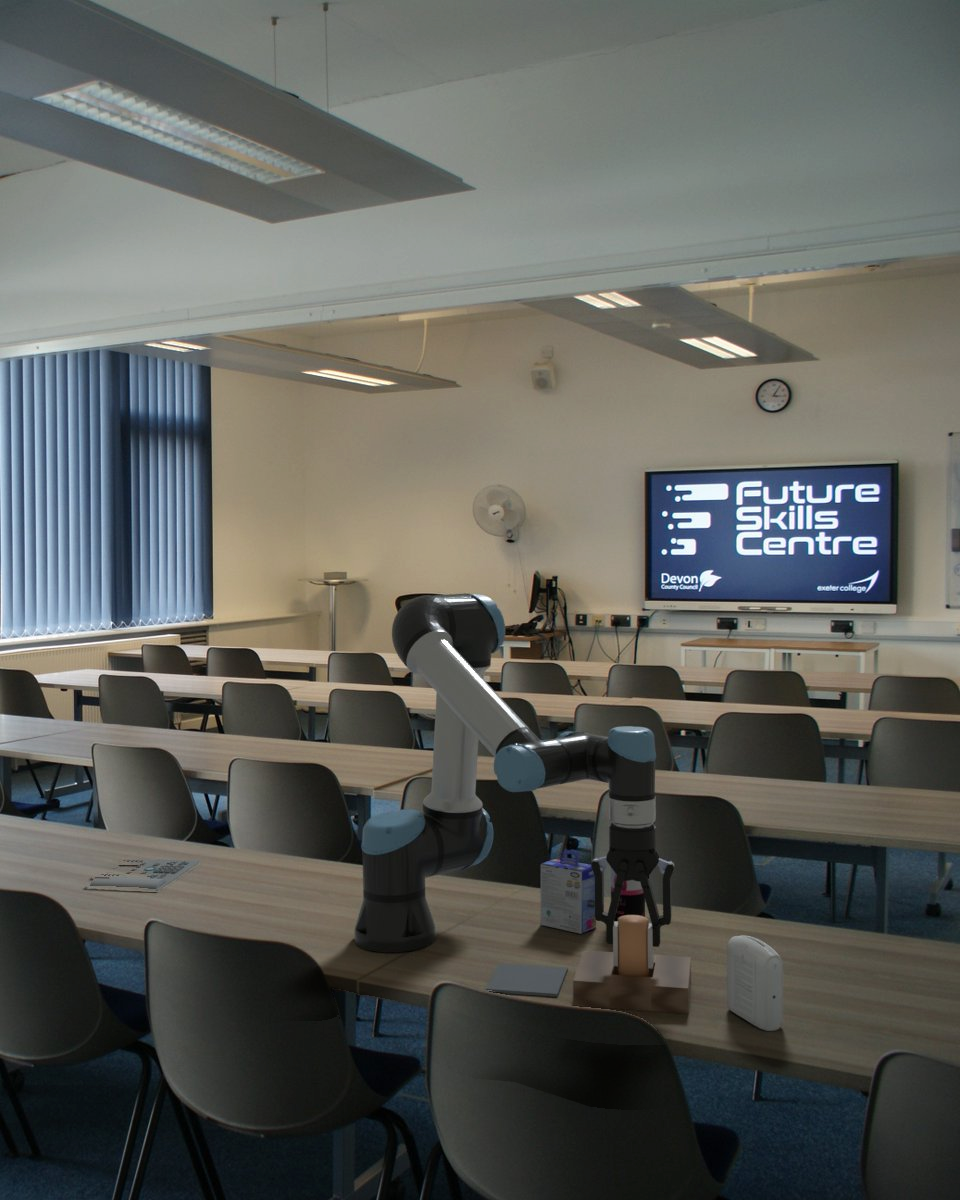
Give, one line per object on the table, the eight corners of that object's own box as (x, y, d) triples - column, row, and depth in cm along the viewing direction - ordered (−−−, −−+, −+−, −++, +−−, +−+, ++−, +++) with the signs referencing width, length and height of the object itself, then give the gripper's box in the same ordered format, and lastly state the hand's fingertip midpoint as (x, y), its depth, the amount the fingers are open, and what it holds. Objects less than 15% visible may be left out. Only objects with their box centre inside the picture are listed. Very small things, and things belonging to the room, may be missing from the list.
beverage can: (622, 928, 216) (621, 851, 216) (605, 919, 222) (604, 843, 222) (651, 924, 219) (650, 847, 218) (633, 914, 225) (633, 839, 224)
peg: (616, 997, 183) (616, 923, 182) (619, 985, 188) (619, 914, 187) (648, 999, 182) (647, 925, 181) (650, 987, 187) (649, 915, 186)
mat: (485, 991, 186) (485, 988, 186) (499, 965, 198) (499, 963, 198) (557, 996, 183) (557, 993, 183) (567, 970, 195) (567, 967, 195)
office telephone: (159, 884, 244) (72, 881, 247) (159, 896, 244) (72, 893, 247) (201, 854, 267) (121, 852, 270) (201, 865, 267) (121, 863, 270)
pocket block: (573, 1005, 180) (573, 980, 180) (584, 973, 193) (584, 950, 193) (688, 1013, 176) (688, 988, 176) (691, 980, 190) (691, 957, 189)
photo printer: (787, 1028, 170) (787, 947, 170) (764, 1033, 168) (764, 951, 168) (745, 1004, 179) (744, 927, 179) (722, 1009, 178) (722, 931, 177)
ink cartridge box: (598, 927, 217) (597, 853, 217) (582, 935, 213) (582, 859, 212) (555, 918, 223) (554, 845, 223) (539, 925, 219) (538, 851, 218)
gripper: (574, 826, 182) (575, 969, 183) (687, 830, 178) (688, 976, 179) (580, 815, 189) (581, 953, 190) (689, 819, 185) (689, 959, 186)
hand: (633, 964), depth 185 cm, fingers closed on peg, 5 cm apart
